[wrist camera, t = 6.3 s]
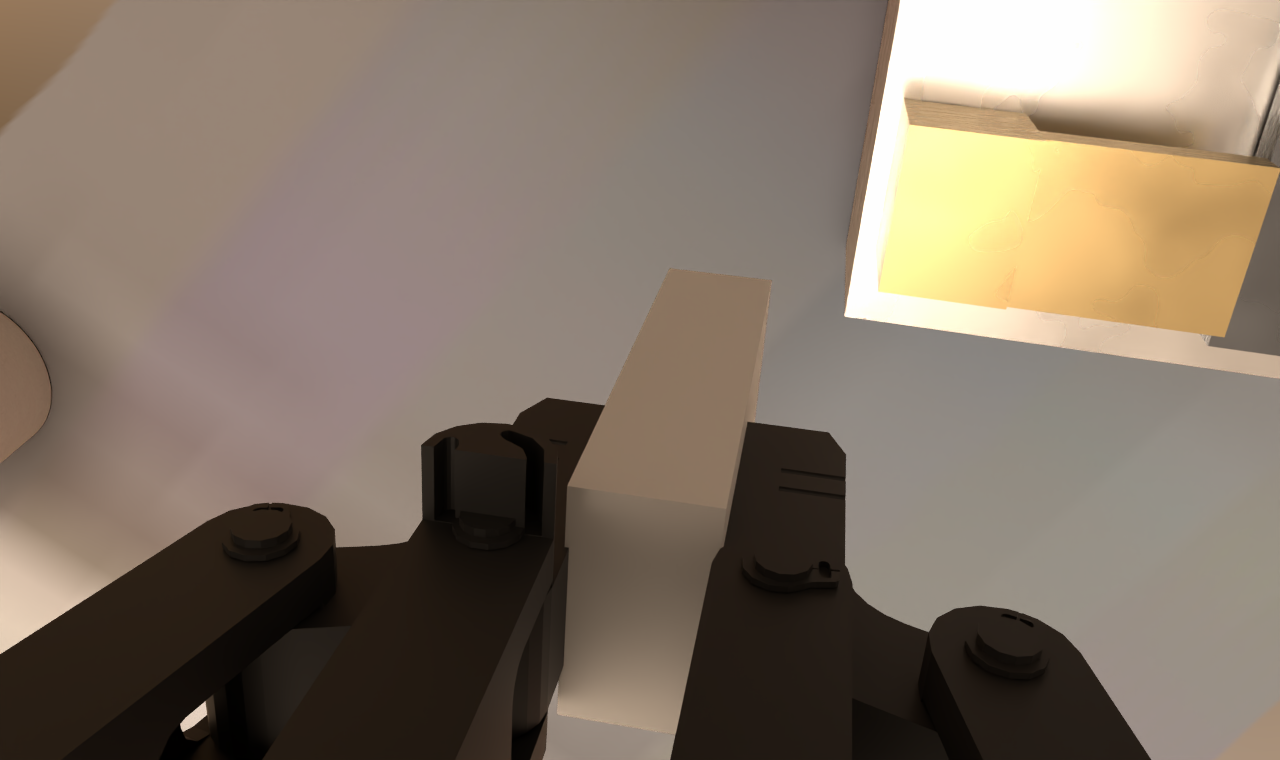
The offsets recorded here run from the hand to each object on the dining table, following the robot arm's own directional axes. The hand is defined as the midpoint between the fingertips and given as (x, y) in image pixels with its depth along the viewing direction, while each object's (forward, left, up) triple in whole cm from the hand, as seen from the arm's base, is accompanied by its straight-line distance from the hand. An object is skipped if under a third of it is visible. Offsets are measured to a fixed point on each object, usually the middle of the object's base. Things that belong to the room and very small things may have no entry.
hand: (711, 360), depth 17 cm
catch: (0, +7, -14) cm, 16 cm away
